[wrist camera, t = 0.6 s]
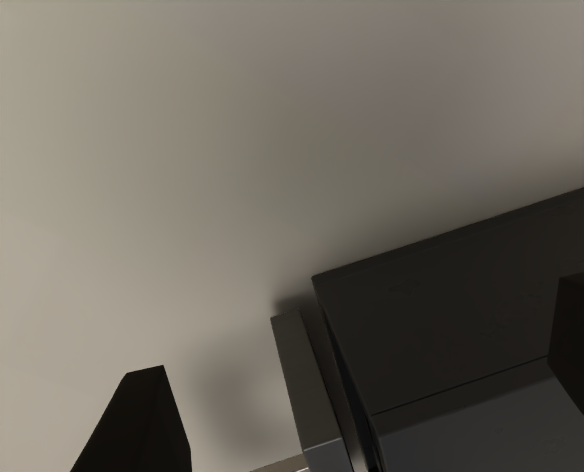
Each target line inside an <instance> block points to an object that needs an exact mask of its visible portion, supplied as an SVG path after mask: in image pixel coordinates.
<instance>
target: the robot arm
mask: <svg viewBox="0 0 584 472" xmlns="http://www.w3.org/2000/svg"><path fill="white" fill-rule="evenodd" d="M547 364H548V366H549V367H550V369H551V370H552V372H553V373H554V375H555V376H556V378H557V379H558V381H559V382H560V384H561V385H562V387H563V388H564V390H565V391H566V392H567V394H568V395H569V397H570V398H571V399H572V401H573V402H574V403H575V405H576V406H577V408H578V409H579V410H580V412H581V413H582V414H583V415H584V272H582V273H577V274H572V275H568V276H563V277H559V284H558V291H557V297H556V304H555V311H554V318H553V324H552V331H551V338H550V345H549V351H548V358H547ZM70 472H192V464H191V449H190V445H189V442H188V439H187V436H186V433H185V430H184V427H183V424H182V421H181V418H180V415H179V412H178V408H177V405H176V402H175V399H174V396H173V393H172V390H171V387H170V384H169V381H168V378H167V375H166V372H165V368H164V365H160V366H156V367H151V368H147V369H142V370H138V371H133V372H129V373H126V375H125V376H124V377H123V379H122V380H121V382H120V384H119V386H118V388H117V389H116V391H115V393H114V395H113V397H112V399H111V401H110V402H109V404H108V406H107V408H106V410H105V412H104V413H103V415H102V417H101V419H100V421H99V422H98V424H97V426H96V428H95V430H94V431H93V433H92V435H91V437H90V438H89V440H88V442H87V444H86V446H85V447H84V449H83V451H82V452H81V454H80V456H79V457H78V459H77V461H76V462H75V464H74V466H73V468H72V469H71V471H70Z"/></svg>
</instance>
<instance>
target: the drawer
mask: <svg viewBox="0 0 584 472" xmlns="http://www.w3.org/2000/svg"><path fill="white" fill-rule="evenodd" d="M270 321H271V325H272V329H273V333H274V337H275V341H276V345H277V349H278V353H279V358H280V362H281V366H282V370H283V374H284V378H285V382H286V386H287V390H288V395H289V399H290V403H291V407H292V411H293V415H294V419H295V423H296V427H297V432H298V436H299V440H300V444H301V448H302V451H303V453H302V454H299V455H296V456H293V457H291V458H288V459H285V460H282V461H279V462H276V463H273V464H270V465H267V466H264V467H261V468H258V469H256V470H253V471H250V472H354V469H353V466H352V463H351V459H350V456H349V453H348V450H347V447H346V443H345V440H344V437H343V434H342V431H341V428H340V425H339V422H338V419H337V416H336V413H335V411H334V408H333V405H332V402H331V399H330V396H329V393H328V390H327V387H326V384H325V381H324V378H323V375H322V373H321V370H320V367H319V364H318V361H317V358H316V355H315V352H314V349H313V346H312V343H311V340H310V337H309V335H308V332H307V329H306V326H305V323H304V320H303V317H302V314H301V311H300V309H295V310H292V311H289V312H286V313H283V314H280V315H277V316H274V317H271V318H270ZM358 398H359V397H358ZM359 402H360V400H359ZM360 405H361V402H360ZM361 409H362V413H363V416H364V420H365V424H366V427H367V431H368V434H369V438H370V442H371V445H372V449H373V453H374V456H375V460H376V464H377V467H378V470H379V472H384V471H383V467H382V464H381V460H380V456H379V452H378V449H377V445H376V441H375V437H374V433H373V431H372V429H371V427H370V424H369V422H368V419H367V417H366V414H365V412H364V410H363V407H362V405H361Z"/></svg>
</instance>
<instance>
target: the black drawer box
mask: <svg viewBox="0 0 584 472" xmlns="http://www.w3.org/2000/svg"><path fill="white" fill-rule="evenodd" d="M582 272H584V188H582V189H579V190H576V191H573V192H570V193H567V194H564V195H561V196H558V197H555V198H552V199H549V200H545V201H542V202H539V203H536V204H533V205H530V206H527V207H524V208H521V209H518V210H515V211H512V212H509V213H506V214H503V215H500V216H497V217H494V218H491V219H488V220H484V221H481V222H478V223H475V224H472V225H469V226H466V227H463V228H460V229H457V230H454V231H451V232H448V233H445V234H442V235H439V236H436V237H433V238H430V239H426V240H423V241H420V242H417V243H414V244H411V245H408V246H405V247H402V248H399V249H396V250H393V251H390V252H387V253H384V254H381V255H378V256H375V257H372V258H368V259H365V260H362V261H359V262H356V263H353V264H350V265H347V266H344V267H341V268H338V269H335V270H332V271H329V272H326V273H323V274H320V275H317V276H314V277H312V279H311V280H312V283H313V287H314V290H315V294H316V297H317V300H318V304H319V307H320V311H321V314H322V318H323V321H324V324H325V328H326V331H327V335H328V338H329V342H330V345H331V349H332V352H333V355H334V359H335V362H336V366H337V369H338V373H339V376H340V379H341V383H342V386H343V390H344V393H345V397H346V400H347V404H348V407H349V410H350V414H351V417H352V421H353V424H354V428H355V431H356V434H357V438H358V441H359V445H360V448H361V452H362V455H363V459H364V462H365V465H366V468H367V471H368V472H379V470H378V467H377V464H376V460H375V456H374V453H373V449H372V445H371V442H370V438H369V434H368V431H367V427H366V424H365V420H364V416H363V413H362V409H361V405H362V407H363V410H364V412H365V414H366V417H367V419H368V422H369V424H370V427H371V429H372V431H373V433H374V437H375V441H376V445H377V449H378V452H379V456H380V460H381V464H382V467H383V471H384V472H584V415H583V414H582V413H581V412H580V410H579V409H578V408H577V406H576V405H575V403H574V402H573V401H572V399H571V398H570V397H569V395H568V394H567V392H566V391H565V390H564V388H563V387H562V385H561V384H560V382H559V381H558V379H557V378H556V376H555V375H554V373H553V372H552V370H551V369H550V367H549V366H548V364H547V358H548V351H549V345H550V338H551V331H552V324H553V318H554V311H555V304H556V297H557V291H558V284H559V277H563V276H568V275H572V274H577V273H582ZM358 397H359V398H358ZM359 400H360V402H361V405H360V402H359Z"/></svg>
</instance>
